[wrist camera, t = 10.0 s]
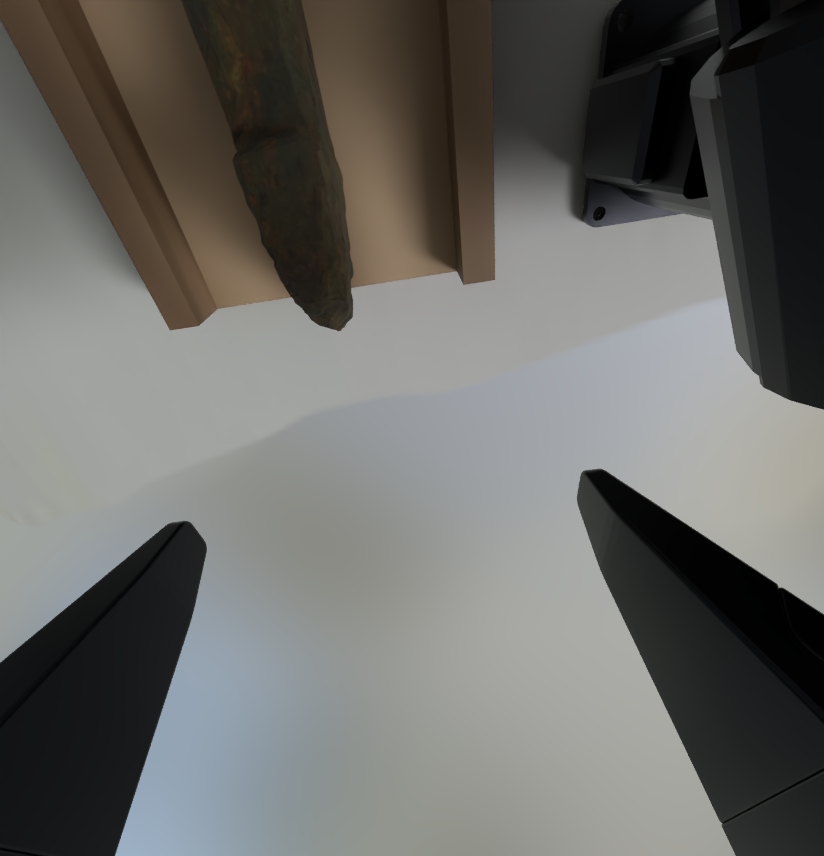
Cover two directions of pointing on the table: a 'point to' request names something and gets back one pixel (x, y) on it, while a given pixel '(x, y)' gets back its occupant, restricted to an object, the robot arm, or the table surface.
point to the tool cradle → (214, 150)
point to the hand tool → (281, 145)
